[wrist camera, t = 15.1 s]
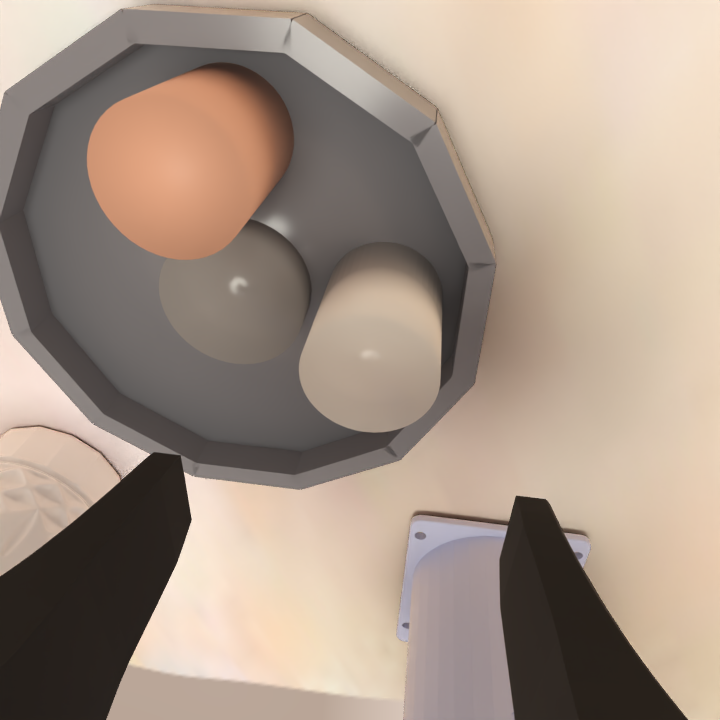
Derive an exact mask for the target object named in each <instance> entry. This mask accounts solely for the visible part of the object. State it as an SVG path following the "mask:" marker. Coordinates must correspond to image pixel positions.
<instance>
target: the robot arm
mask: <svg viewBox="0 0 720 720" xmlns="http://www.w3.org/2000/svg"><path fill="white" fill-rule="evenodd" d="M191 520H192V519H191V513H190V507H189V501H188V495H187V489H186V483H185V477H184V471H183V465H182V459H181V455H175V454H167V453H159V452H153V453H152V454H151V455H150V456H148V457H147V458H146V459H145V460H144V461H143V462H141V463H140V464H139V465H138V466H137V467H136V468H135V469H133V470H132V471H131V472H130V473H129V474H128V475H127V476H126V477H124V478H123V479H122V480H121V481H120V482H119V483H118V484H117V485H115V486H114V487H113V488H112V489H111V490H110V491H109V492H107V493H106V494H105V495H104V496H103V497H102V498H101V499H99V500H98V501H97V502H96V503H95V504H93V505H92V506H91V507H90V508H89V509H88V510H86V511H85V512H84V513H83V514H82V515H80V516H79V517H78V518H77V519H76V520H75V521H73V522H72V523H71V524H70V525H68V526H67V527H66V528H65V529H63V530H62V531H61V532H59V533H58V534H57V535H56V536H54V537H53V538H52V539H50V540H49V541H48V542H47V543H45V544H44V545H43V546H41V547H40V548H39V549H38V550H36V551H35V552H34V553H32V554H31V555H30V556H28V557H27V558H25V559H24V560H23V561H21V562H20V563H19V564H17V565H16V566H14V567H13V568H11V569H10V570H9V571H7V572H6V573H4V574H3V575H1V576H0V720H106V718H107V716H108V713H109V711H110V708H111V705H112V703H113V700H114V697H115V694H116V692H117V689H118V687H119V684H120V681H121V679H122V677H123V675H124V672H125V670H126V668H127V665H128V663H129V661H130V659H131V657H132V655H133V653H134V651H135V648H136V646H137V644H138V642H139V640H140V638H141V636H142V634H143V632H144V630H145V628H146V626H147V624H148V622H149V620H150V618H151V616H152V614H153V612H154V610H155V608H156V606H157V604H158V601H159V599H160V597H161V595H162V593H163V591H164V589H165V587H166V585H167V583H168V581H169V579H170V577H171V574H172V572H173V570H174V568H175V566H176V564H177V561H178V558H179V556H180V553H181V550H182V547H183V544H184V541H185V538H186V535H187V532H188V529H189V526H190V523H191ZM419 532H423V533H419ZM590 550H591V544H590V540H589V539H588V538H587V537H586V536H584V535H579V534H571V533H564V532H563V530H562V528H561V526H560V524H559V522H558V520H557V518H556V516H555V514H554V512H553V510H552V507H551V505H550V504H549V502H548V501H547V500H546V499H539V498H531V497H523V496H516V498H515V502H514V505H513V509H512V513H511V517H510V521H509V524H508V526H507V525H499V524H491V523H483V522H475V521H467V520H459V519H451V518H443V517H435V516H427V515H417V516H414V517H413V518H412V520H411V524H410V531H409V539H408V547H407V555H406V562H405V570H404V578H403V586H402V593H401V601H400V609H399V617H398V624H397V634H396V635H397V637H398V639H400V640H401V641H405V642H408V654H407V669H406V685H405V700H404V717H403V720H688V719H687V718H686V717H685V715H684V714H683V713H682V712H681V711H680V709H679V708H678V707H677V706H676V704H675V703H674V702H673V701H672V699H671V698H670V697H669V696H668V694H667V693H666V692H665V690H664V689H663V688H662V687H661V685H660V684H659V683H658V681H657V680H656V679H655V677H654V676H653V675H652V673H651V672H650V671H649V669H648V668H647V667H646V666H645V664H644V663H643V661H642V660H641V659H640V657H639V656H638V654H637V653H636V652H635V650H634V649H633V647H632V646H631V644H630V643H629V642H628V640H627V639H626V637H625V636H624V634H623V633H622V631H621V630H620V628H619V627H618V625H617V624H616V622H615V621H614V619H613V618H612V616H611V614H610V613H609V611H608V610H607V608H606V606H605V605H604V603H603V602H602V600H601V598H600V597H599V595H598V593H597V592H596V590H595V588H594V587H593V585H592V583H591V582H590V580H589V578H588V576H587V575H586V573H585V571H584V570H583V568H584V565H585V563H586V560H587V557H588V555H589V552H590ZM574 552H575V553H574Z"/></svg>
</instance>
